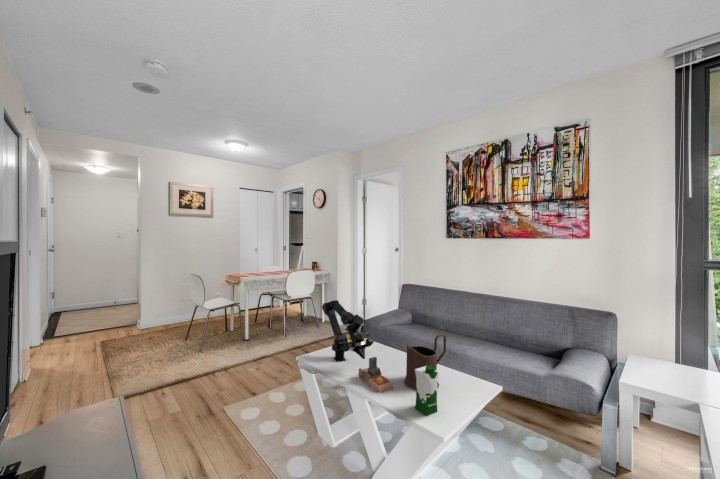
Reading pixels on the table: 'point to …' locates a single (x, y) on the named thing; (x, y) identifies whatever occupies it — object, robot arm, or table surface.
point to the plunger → (373, 367)
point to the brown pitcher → (421, 361)
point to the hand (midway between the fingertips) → (364, 358)
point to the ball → (379, 381)
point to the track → (366, 375)
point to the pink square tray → (386, 385)
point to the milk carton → (426, 390)
